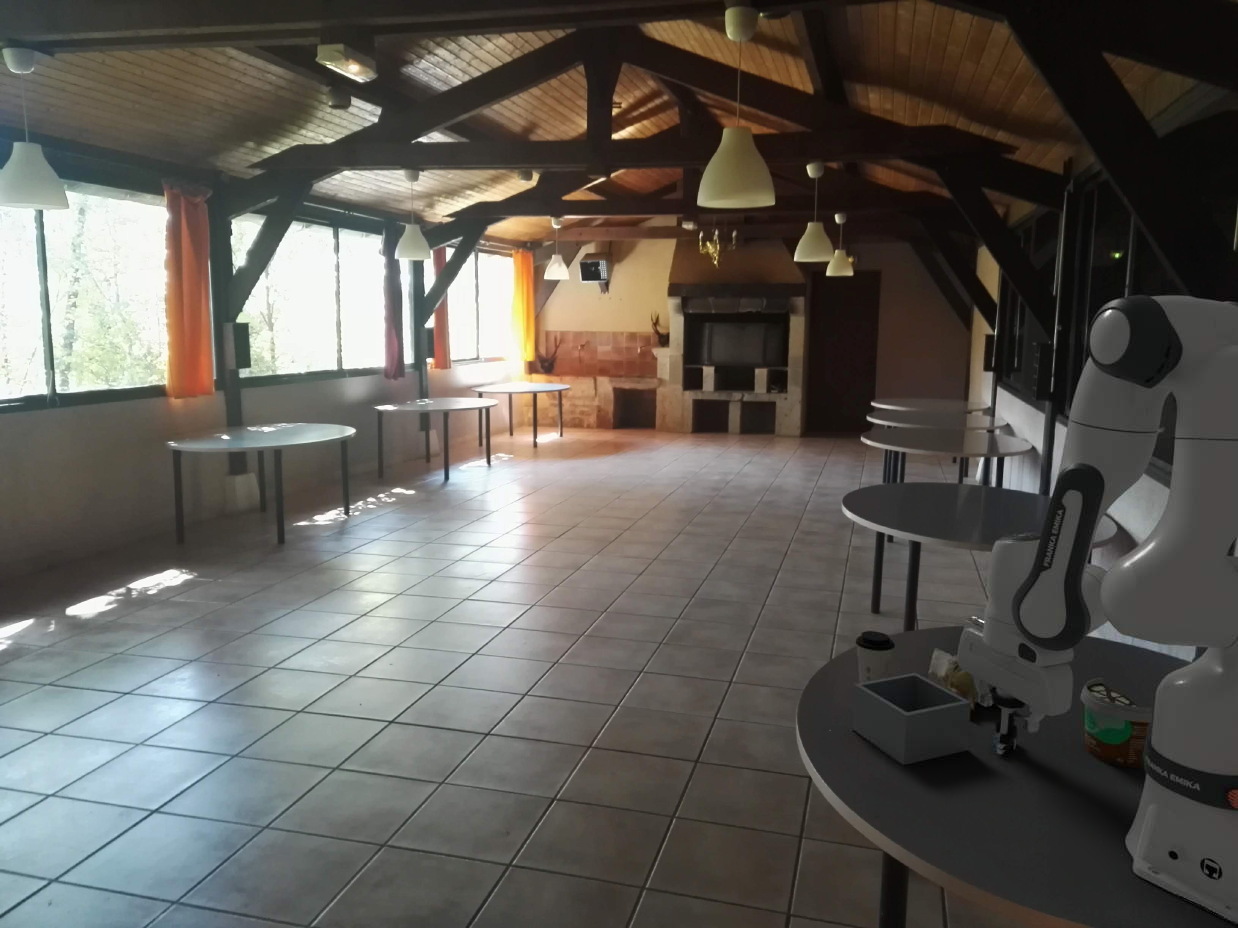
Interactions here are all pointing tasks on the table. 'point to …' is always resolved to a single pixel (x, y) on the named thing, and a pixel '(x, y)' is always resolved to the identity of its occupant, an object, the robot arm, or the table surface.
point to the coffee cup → (874, 655)
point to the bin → (911, 717)
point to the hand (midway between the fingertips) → (1007, 716)
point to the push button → (1005, 719)
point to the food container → (1114, 725)
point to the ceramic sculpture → (953, 676)
